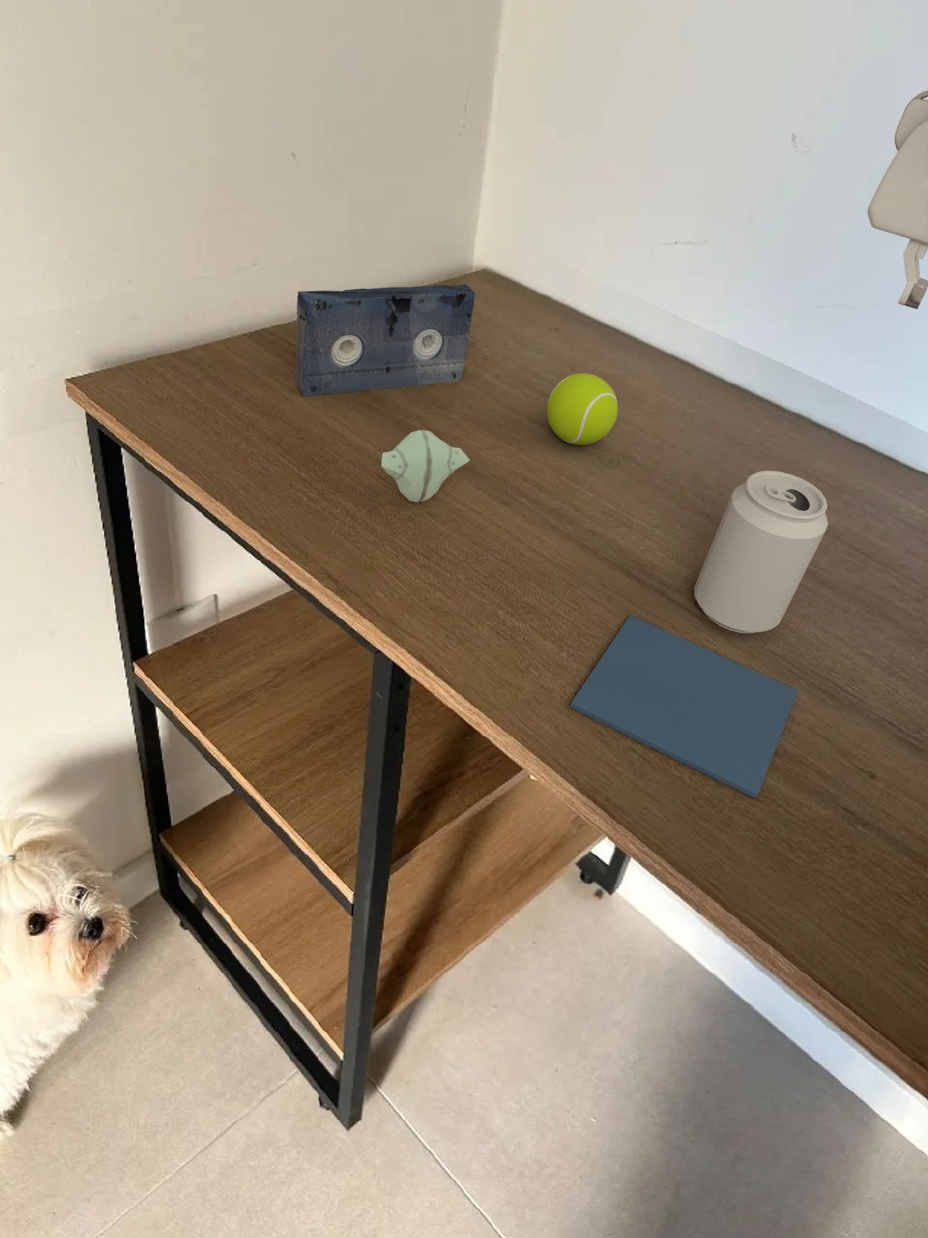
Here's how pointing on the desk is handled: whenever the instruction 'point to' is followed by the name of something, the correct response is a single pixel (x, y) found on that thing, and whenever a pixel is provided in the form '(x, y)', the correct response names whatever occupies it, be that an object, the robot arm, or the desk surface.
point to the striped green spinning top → (422, 464)
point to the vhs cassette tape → (381, 337)
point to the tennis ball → (582, 409)
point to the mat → (688, 704)
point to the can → (761, 551)
